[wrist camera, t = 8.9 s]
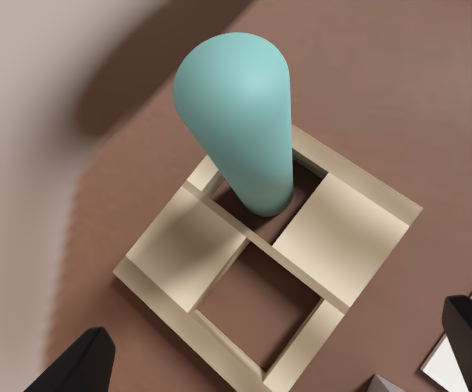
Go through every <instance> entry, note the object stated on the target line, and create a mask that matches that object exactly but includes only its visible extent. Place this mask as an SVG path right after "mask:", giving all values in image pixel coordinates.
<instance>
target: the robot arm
mask: <svg viewBox="0 0 472 392" xmlns="http://www.w3.org/2000/svg"><path fill="white" fill-rule="evenodd" d="M442 325H443V328H444V331H445V333H446V336H447V338H448V341H449V343H450V346H451V348H452V351H453V354H454V356H455V359H456V361H457V364H458V366H459V369H460V371H461V374H462V376H463V379H464V381H465V384H466V386H467V389H468V391H469V392H472V299H470V298H469V297H467V296H465V295H453V296H447V297H446V298H445V301H444V307H443V313H442ZM114 357H115V344H114V342H113V341H112V339H111V337H110V336H109V334H108V332H107V330H106V329H105V328H104V327H93V328H89V329H87V330H86V331H85V332H84V333H83V334H82V335H81V336H80V337H79V338H78V339H77V340H76V341H75V342H74V343H73V344H72V345H71V346H70V347H69V348H68V349H67V350H66V351H65V352H64V353H63V354H61V355H60V356H59V357H58V358H57V359H56V360H55V361H54V362H53V363H52V364H51V365H50V366H49V367H48V368H47V369H46V370H45V371H44V372H43V373H42V374H41V375H40V376H39V377H38V378H37V379H36V380H35V381H34V382H33V383H32V384H31V385H30V386H29V387H28V388H27V389H26V390H25V391H24V392H108V388H109V383H110V378H111V372H112V367H113V362H114Z"/></svg>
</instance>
